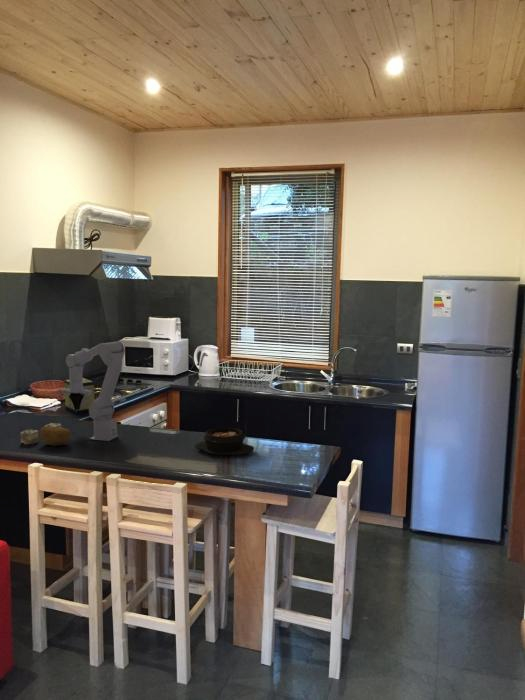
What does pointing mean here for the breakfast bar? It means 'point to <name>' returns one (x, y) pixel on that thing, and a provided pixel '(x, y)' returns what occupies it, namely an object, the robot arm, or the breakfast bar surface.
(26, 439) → the pip block four
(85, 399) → the protein box
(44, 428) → the potato
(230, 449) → the casserole
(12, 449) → the breakfast bar surface
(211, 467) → the breakfast bar surface
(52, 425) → the pip block two
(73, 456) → the breakfast bar surface
